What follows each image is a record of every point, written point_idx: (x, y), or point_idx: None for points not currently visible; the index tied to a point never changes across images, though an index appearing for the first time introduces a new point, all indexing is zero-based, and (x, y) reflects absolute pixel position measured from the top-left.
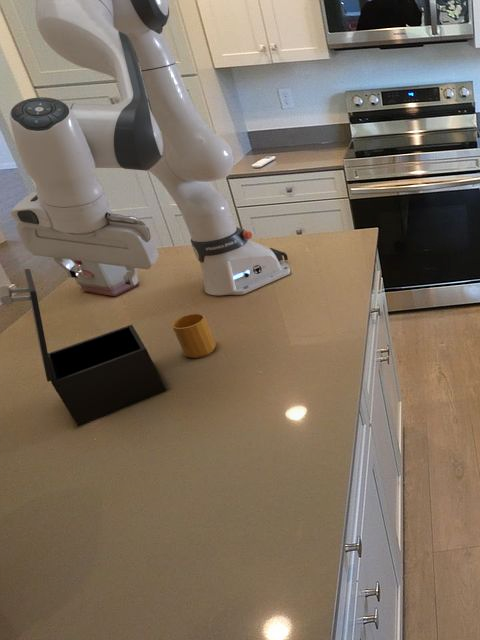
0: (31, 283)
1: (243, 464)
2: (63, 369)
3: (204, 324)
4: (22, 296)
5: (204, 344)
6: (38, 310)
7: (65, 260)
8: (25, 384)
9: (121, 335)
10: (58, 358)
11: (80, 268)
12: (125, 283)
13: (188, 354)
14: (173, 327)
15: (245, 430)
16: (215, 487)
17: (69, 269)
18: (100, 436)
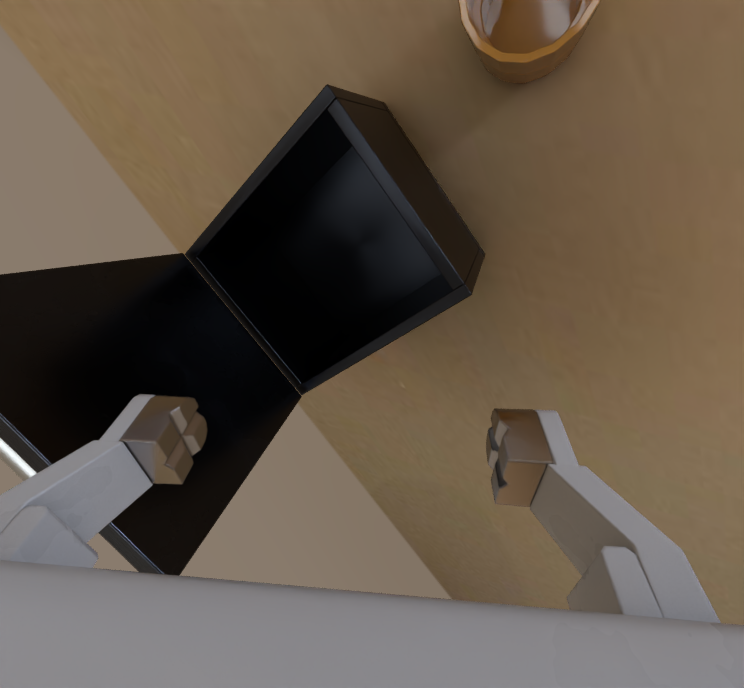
0: None
1: (732, 533)
2: (235, 240)
3: None
4: None
5: (573, 47)
6: (215, 519)
7: (75, 514)
8: (138, 165)
9: (313, 133)
10: (216, 246)
11: (171, 431)
12: (487, 455)
13: (503, 79)
14: (478, 48)
15: (735, 451)
16: None
17: (148, 487)
18: (407, 381)
